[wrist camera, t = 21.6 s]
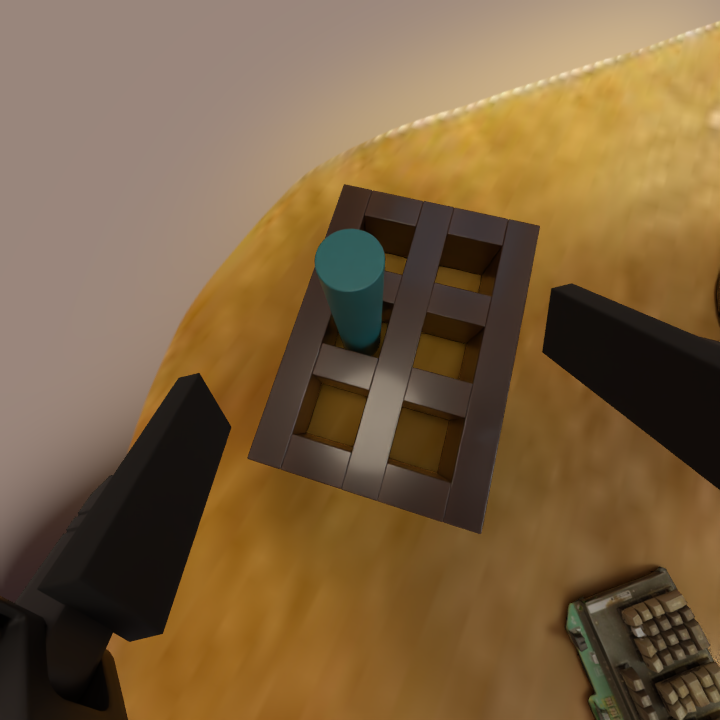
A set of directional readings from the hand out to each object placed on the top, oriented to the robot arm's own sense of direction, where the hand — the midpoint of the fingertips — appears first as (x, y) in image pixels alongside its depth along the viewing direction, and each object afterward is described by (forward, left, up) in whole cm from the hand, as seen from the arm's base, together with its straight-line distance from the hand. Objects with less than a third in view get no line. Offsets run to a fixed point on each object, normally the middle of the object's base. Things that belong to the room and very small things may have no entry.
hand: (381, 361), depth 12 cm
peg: (+3, -4, -14) cm, 15 cm away
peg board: (-1, -4, -14) cm, 15 cm away
